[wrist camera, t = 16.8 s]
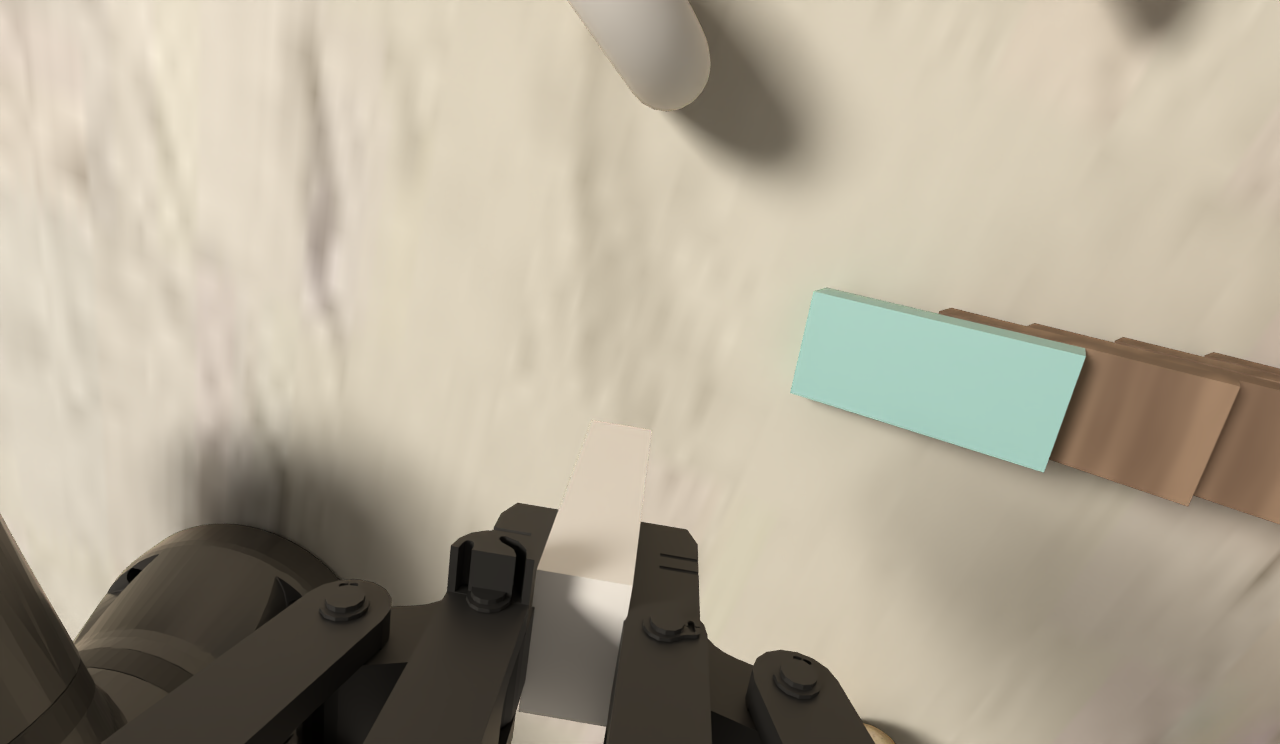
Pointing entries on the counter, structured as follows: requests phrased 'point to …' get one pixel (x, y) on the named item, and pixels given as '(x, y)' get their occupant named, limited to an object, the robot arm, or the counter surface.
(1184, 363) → the domino
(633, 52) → the donut
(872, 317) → the tile
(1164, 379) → the domino
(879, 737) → the ceramic mug
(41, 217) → the counter surface
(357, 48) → the counter surface
